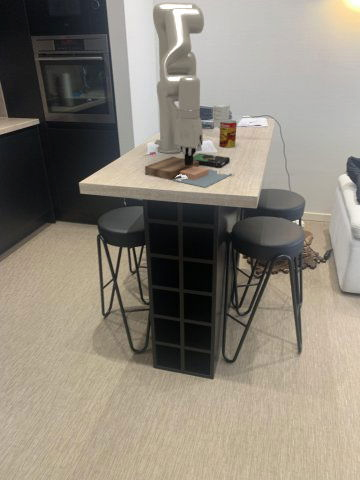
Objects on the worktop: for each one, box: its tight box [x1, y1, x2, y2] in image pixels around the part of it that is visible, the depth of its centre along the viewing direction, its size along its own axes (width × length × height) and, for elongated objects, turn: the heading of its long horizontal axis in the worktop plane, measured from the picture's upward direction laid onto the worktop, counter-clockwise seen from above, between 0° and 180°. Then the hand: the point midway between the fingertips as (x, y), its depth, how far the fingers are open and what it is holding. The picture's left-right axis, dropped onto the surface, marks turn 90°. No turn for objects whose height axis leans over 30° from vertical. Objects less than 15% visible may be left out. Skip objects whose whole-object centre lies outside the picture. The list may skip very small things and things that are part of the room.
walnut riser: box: [144, 156, 200, 181], centre depth 147 cm, size 13×18×3 cm
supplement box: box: [212, 104, 230, 129], centre depth 229 cm, size 7×7×13 cm
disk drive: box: [193, 153, 231, 169], centre depth 158 cm, size 10×3×15 cm
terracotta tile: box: [180, 166, 210, 180], centre depth 141 cm, size 7×9×2 cm
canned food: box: [218, 119, 238, 149], centre depth 183 cm, size 8×8×12 cm
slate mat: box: [172, 169, 231, 189], centre depth 140 cm, size 14×19×1 cm
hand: (188, 164), depth 142 cm, fingers closed
